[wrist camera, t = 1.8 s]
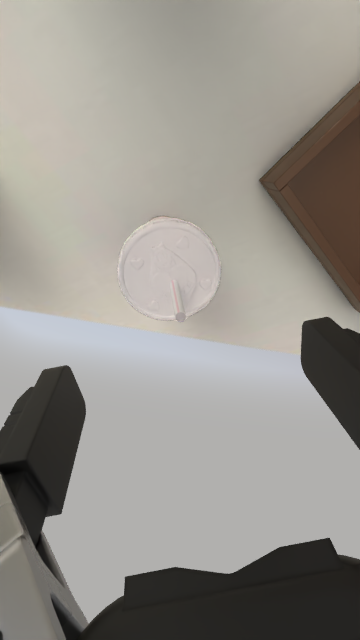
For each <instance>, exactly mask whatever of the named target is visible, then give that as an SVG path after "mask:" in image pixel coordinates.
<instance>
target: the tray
mask: <svg viewBox="0 0 360 640" xmlns="http://www.w3.org/2000/svg"><path fill="white" fill-rule="evenodd" d="M259 181H260V182H261V184H262V185H263V186H264V188H265V189H266V190H267V192H268V193H269V194H270V196H271V197H272V198H273V200H274V201H275V203H276V204H277V205H278V207H279V208H280V209H281V211H282V212H283V213H284V215H285V216H286V217H287V219H288V220H289V221H290V223H291V224H292V225H293V227H294V228H295V229H296V231H297V232H298V233H299V235H300V236H301V237H302V239H303V240H304V241H305V243H306V244H307V245H308V247H309V248H310V250H311V251H312V252H313V254H314V255H315V256H316V258H317V259H318V260H319V262H320V263H321V264H322V266H323V267H324V268H325V270H326V271H327V272H328V274H329V275H330V276H331V278H332V279H333V280H334V282H335V283H336V284H337V286H338V287H339V288H340V290H341V291H342V292H343V294H344V295H345V297H346V298H347V299H348V301H349V302H350V303H351V305H352V306H353V307H354V309H355V310H357V311H358V312H360V82H359V83H358V84H357V85H356V86H355V87H354V88H353V89H352V90H351V91H350V92H349V93H348V94H347V95H345V96H344V97H343V98H342V99H341V100H340V101H339V102H338V103H337V104H336V105H335V106H334V107H333V108H332V109H331V110H330V111H329V112H328V113H327V114H326V115H325V116H324V117H323V118H322V119H321V120H320V121H319V122H318V123H317V124H316V125H315V126H314V127H313V128H312V129H311V130H310V131H309V132H308V133H307V134H306V135H305V136H304V137H303V138H302V139H301V140H300V141H299V142H298V143H297V144H296V145H294V146H293V147H292V148H291V149H290V150H289V151H288V152H287V153H286V154H285V155H284V156H283V157H282V158H281V159H280V160H279V161H278V162H277V163H276V164H275V165H274V166H273V167H272V168H271V169H270V170H269V171H268V172H267V173H266V174H265V175H264V176H263V177H262V178H261V179H260V180H259Z"/></svg>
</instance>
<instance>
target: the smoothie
mask: <svg viewBox="0 0 360 640" xmlns="http://www.w3.org/2000/svg"><path fill="white" fill-rule="evenodd" d="M117 268H118V271H117V273H118V282H119V286H120V289H121V291H122V293H123V295H124V297H125V298H126V300H127V301H128V302H129V304H130V305H131V306H132V307H133V308H135V309H136V310H137V311H138V312H140V313H142V314H143V315H145V316H147V317H150V318H153V319H157V320H163V321H173V320H177V321H178V322H183V321H184V320H185V319H186V318H187V317H190V316H192V315H194V314H195V313H197V312H199V311H200V310H202V309H203V308H204V307H205V306H206V305H207V304H208V303H209V302H210V301H211V299H212V298H213V296H214V295H215V293H216V291H217V289H218V286H219V283H220V278H221V263H220V258H219V255H218V252H217V250H216V248H215V246H214V244H213V242H212V240H211V238H210V237H209V236H208V235H207V234H206V233H205V232H204V231H203V230H202V229H201V228H199V227H198V226H196V225H194V224H192V223H191V222H189V221H185V220H181V219H177V218H170V217H166V216H159V217H155V218H153V219H151V220H150V221H149V222H147V223H145V224H144V225H142V226H141V227H139V228H137V229H136V230H135V231H134V232H133V233H132V234H131V235H130V236H129V237H128V238H127V240H126V241H125V243H124V245H123V247H122V249H121V251H120V253H119V259H118V265H117Z"/></svg>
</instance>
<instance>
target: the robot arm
mask: <svg viewBox="0 0 360 640" xmlns="http://www.w3.org/2000/svg"><path fill="white" fill-rule="evenodd" d="M301 364H302V368H303V371H304V373H305V375H306V377H307V378H308V379H309V381H310V382H311V384H312V385H313V386H314V387H315V389H316V390H317V392H318V393H319V395H320V396H321V397H322V398H323V400H324V401H325V403H326V404H327V406H328V407H329V408H330V410H331V411H332V412H333V414H334V415H335V416H336V418H337V419H338V421H339V422H340V423H341V425H342V426H343V428H344V429H345V430H346V432H347V433H348V434H349V436H350V437H351V439H352V440H353V441H354V443H355V444H356V445H357V447H358V448H359V449H360V334H359V333H357V332H355V331H352V330H350V329H348V328H346V329H342V328H341V327H340V326H339V325H338V324H337V323H335V322H334V321H333V320H332V319H331V318H329V317H324V318H319V319H314V320H308V321H305V322H304V323H303V325H302V342H301ZM10 414H11V415H9V416H8V418H7V420H6V422H5V423H4V425H5V426H4V427H2V429H1V431H0V640H360V560H359V559H356V558H352V557H348V556H344V555H338V554H337V552H336V550H335V548H334V546H333V544H332V542H331V540H330V538H326V539H320V540H315V541H310V542H305V543H299V544H294V545H289V546H284V547H279V548H277V549H276V550H274V551H272V552H270V553H268V554H267V555H265V556H263V557H261V558H260V559H258V560H256V561H254V562H252V563H251V564H249V565H247V566H245V567H243V568H242V569H240V570H238V571H236V572H234V573H231V574H223V573H215V572H208V571H201V570H192V569H184V568H178V567H174V568H168V569H163V570H158V571H153V572H147V573H142V574H138V575H133V576H127V577H125V589H124V596H122V597H120V598H118V599H117V600H116V601H114V602H113V603H112V604H110V605H109V606H107V607H106V608H105V609H104V610H103V611H102V612H101V613H99V615H97V616H96V617H95V618H94V619H93V620H92V621H91V622H90V623H88V622H87V620H86V618H85V616H84V614H83V612H82V611H81V609H80V607H79V606H78V604H77V602H76V601H75V599H74V597H73V595H72V593H71V591H70V589H69V587H68V585H67V582H66V580H65V578H64V576H63V574H62V572H61V570H60V567H59V565H58V563H57V561H56V559H55V556H54V554H53V552H52V550H51V548H50V545H49V543H48V541H47V539H46V537H45V535H44V533H43V532H42V527H43V523H44V520H45V517H48V516H53V515H59V514H61V513H62V509H63V505H64V501H65V497H66V493H67V488H68V485H69V480H70V477H71V473H72V469H73V465H74V461H75V456H76V452H77V448H78V444H79V440H80V436H81V432H82V428H83V424H84V420H85V415H86V408H85V401H84V398H83V396H82V394H81V391H80V389H79V387H78V384H77V382H76V380H75V377H74V375H73V373H72V371H71V368H70V367H69V366H67V365H66V366H60V367H55V368H50V369H45V370H43V371H42V373H41V375H40V377H39V379H38V381H37V383H36V385H35V387H30V388H29V389H28V390H27V391H26V392H25V393H24V394H23V395H22V396H21V397H20V398H19V399H18V400H17V402H16V403H15V405H14V407H13V409H12V411H11V412H10Z"/></svg>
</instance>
